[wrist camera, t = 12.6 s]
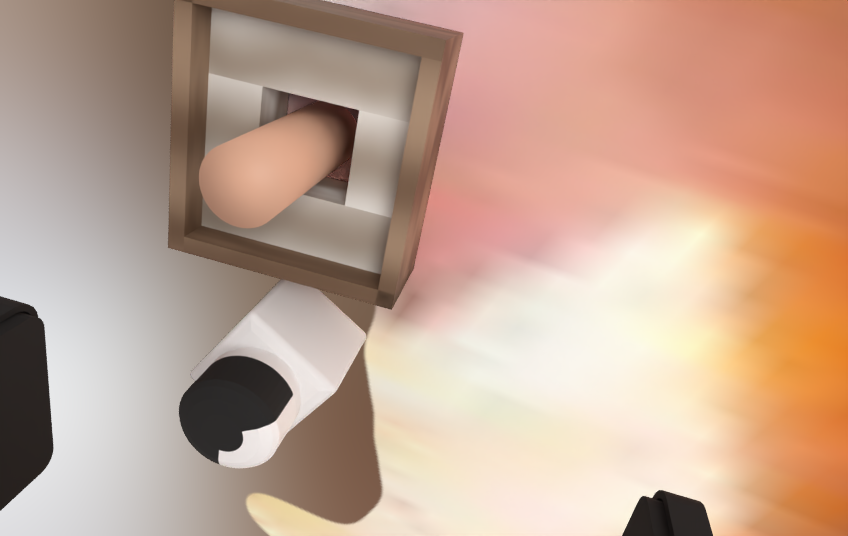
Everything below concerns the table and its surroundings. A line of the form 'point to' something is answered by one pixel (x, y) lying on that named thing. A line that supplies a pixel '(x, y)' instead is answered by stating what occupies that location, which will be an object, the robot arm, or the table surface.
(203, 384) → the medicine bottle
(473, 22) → the table surface
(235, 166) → the peg
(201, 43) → the bore box
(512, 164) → the table surface
